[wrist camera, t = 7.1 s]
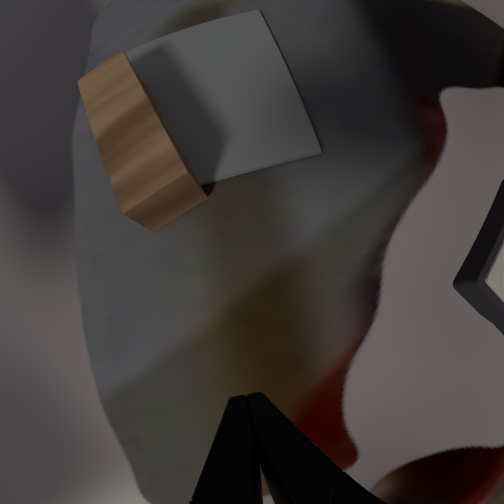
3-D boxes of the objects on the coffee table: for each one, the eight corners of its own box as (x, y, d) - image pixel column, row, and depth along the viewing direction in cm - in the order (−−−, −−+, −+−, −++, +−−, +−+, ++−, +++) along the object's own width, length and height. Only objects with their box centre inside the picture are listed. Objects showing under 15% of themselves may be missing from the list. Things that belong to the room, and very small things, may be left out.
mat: (321, 153, 22) (321, 151, 22) (137, 206, 23) (135, 204, 23) (259, 12, 26) (258, 9, 25) (128, 53, 27) (126, 51, 26)
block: (187, 171, 18) (122, 50, 21) (123, 213, 18) (77, 81, 21) (208, 198, 22) (142, 81, 25) (153, 232, 22) (102, 108, 25)
